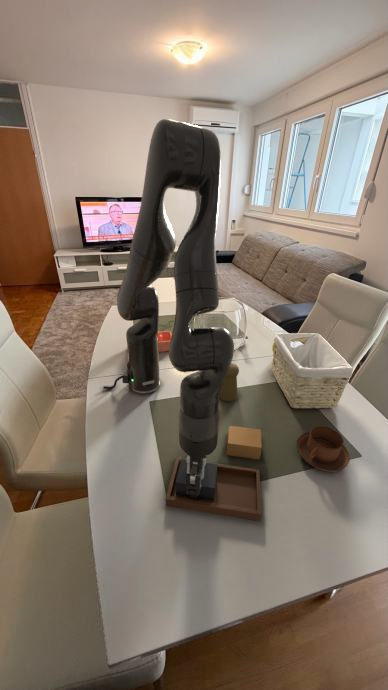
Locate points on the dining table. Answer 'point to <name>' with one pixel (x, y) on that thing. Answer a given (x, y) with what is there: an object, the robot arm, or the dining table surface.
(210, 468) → the black rectangular block
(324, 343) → the basket
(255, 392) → the dining table surface
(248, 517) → the brown wooden tray
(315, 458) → the cup and saucer
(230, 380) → the pawn chess piece
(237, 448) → the orange tan block
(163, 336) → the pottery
